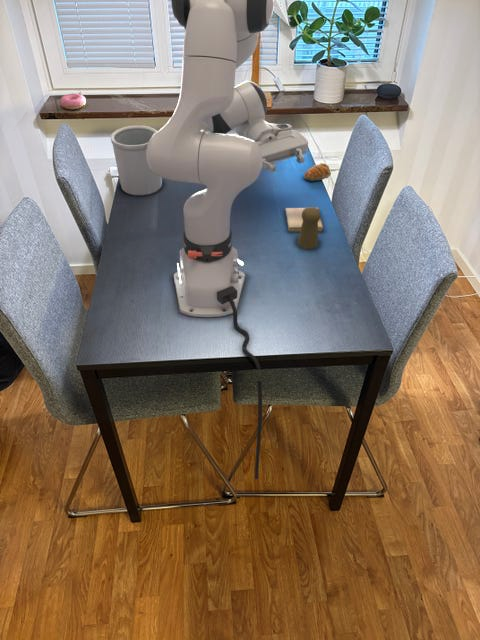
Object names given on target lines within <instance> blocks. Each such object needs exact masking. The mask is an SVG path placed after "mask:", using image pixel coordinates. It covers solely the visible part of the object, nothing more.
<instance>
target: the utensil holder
mask: <svg viewBox="0 0 480 640" xmlns="http://www.w3.org/2000/svg"><path fill="white" fill-rule="evenodd" d="M157 131H158V130H157V129H156V128H154V127H151V126H149V125H148V126H147V125H140V124H139V125H128V126H123V127H121V128H120V127H119V128H118V129H116V130H115V131H113V132H112V133H111V134H110V142H111V144H112V148H113V153H114V158H115V164H116V168H117V174H118V178H119V184H120V186H121V187H120V188H121V190H122V191H123V192H124V193H126V194H128V195H132V196H147V195H151V194H155V193H156V192H158V191H160V189H161V188H162V186H163V178H162V177H159V176H156V175H155V174H154V173H153V172H152V171H151V169H150V167H149V165H148V162H147V157H146V150H147V145H148V143H149V140H150V139H151V137H152V136H153V135H154V134H155V133H156V132H157Z"/></svg>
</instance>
